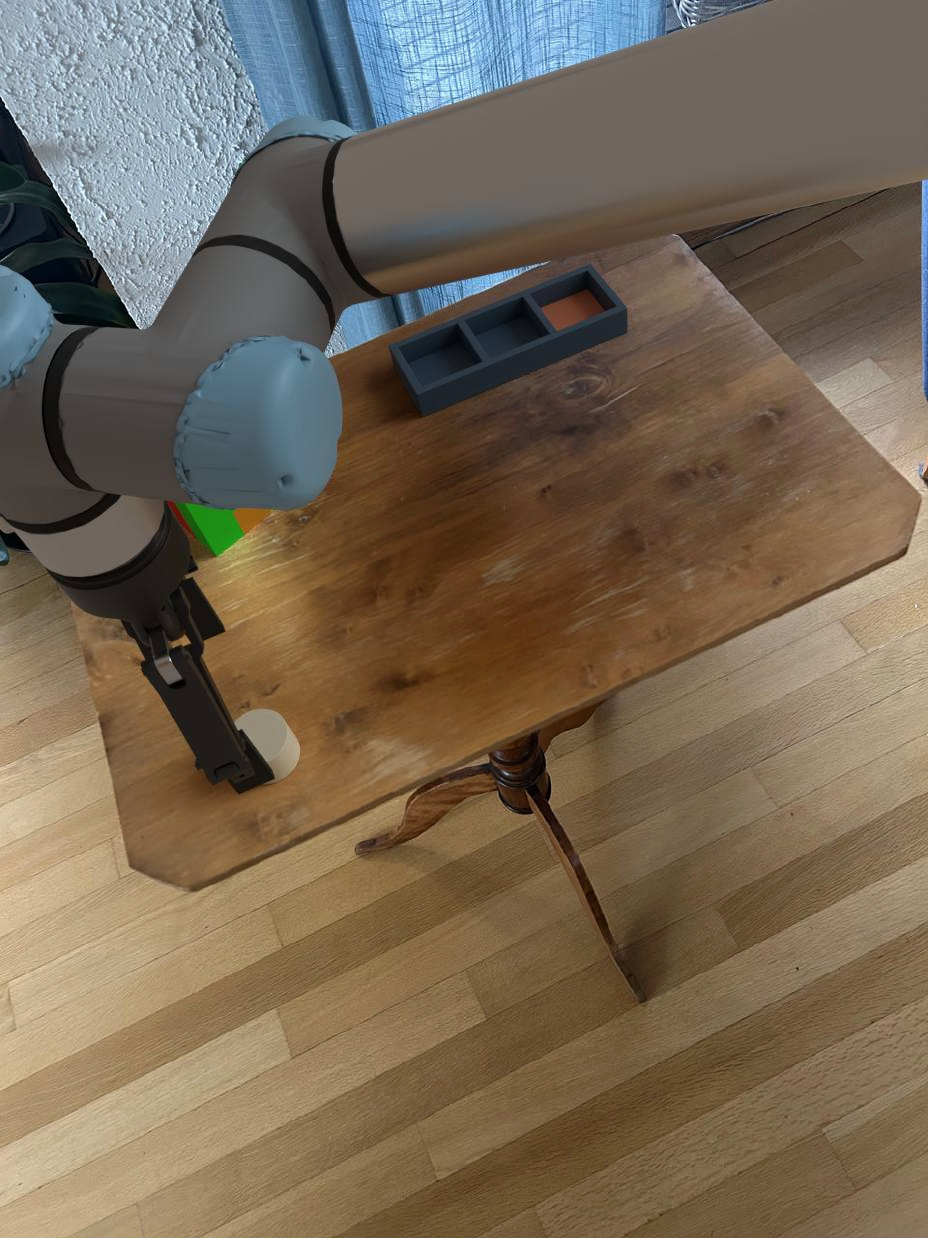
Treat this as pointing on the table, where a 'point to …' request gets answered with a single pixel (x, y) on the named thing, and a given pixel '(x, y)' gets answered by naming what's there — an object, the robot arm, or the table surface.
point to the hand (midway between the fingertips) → (230, 705)
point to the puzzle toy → (217, 523)
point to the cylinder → (271, 740)
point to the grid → (508, 339)
